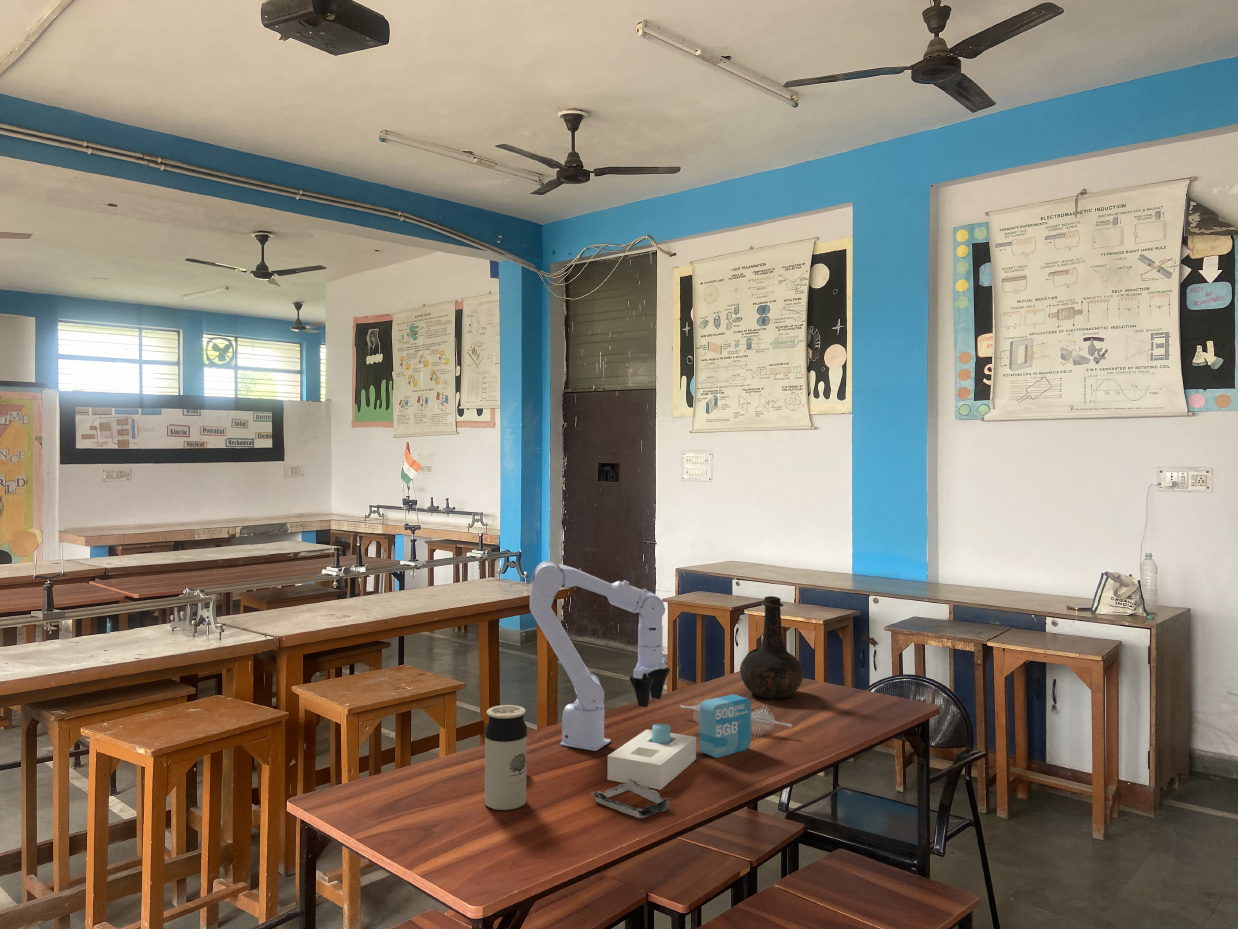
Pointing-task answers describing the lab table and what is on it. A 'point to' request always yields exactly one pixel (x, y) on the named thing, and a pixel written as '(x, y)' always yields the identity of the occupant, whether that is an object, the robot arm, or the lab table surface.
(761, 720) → the test tube brush
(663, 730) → the pin
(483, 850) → the lab table surface
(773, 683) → the glass bottle
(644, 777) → the hole board
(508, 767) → the travel mug
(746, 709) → the data package
